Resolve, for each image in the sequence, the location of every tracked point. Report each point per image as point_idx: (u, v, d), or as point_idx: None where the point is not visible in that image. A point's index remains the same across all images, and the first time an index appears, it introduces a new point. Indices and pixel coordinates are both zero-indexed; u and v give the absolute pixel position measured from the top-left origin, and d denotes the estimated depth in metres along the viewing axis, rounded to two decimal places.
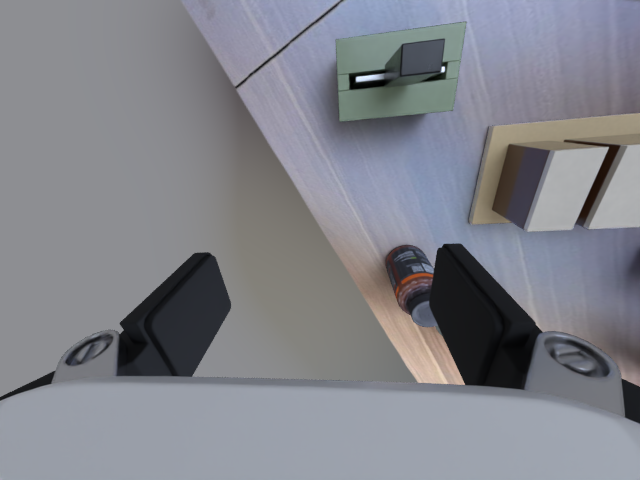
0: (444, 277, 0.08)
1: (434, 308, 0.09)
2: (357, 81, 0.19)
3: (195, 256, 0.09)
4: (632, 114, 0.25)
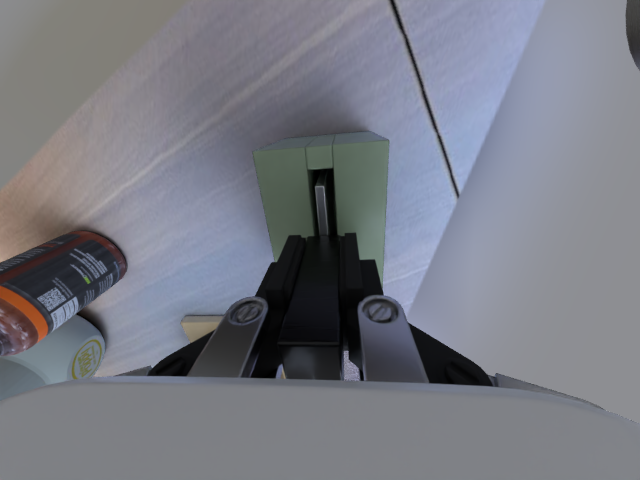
0: None
1: None
2: (316, 189, 0.10)
3: (292, 237, 0.10)
4: None
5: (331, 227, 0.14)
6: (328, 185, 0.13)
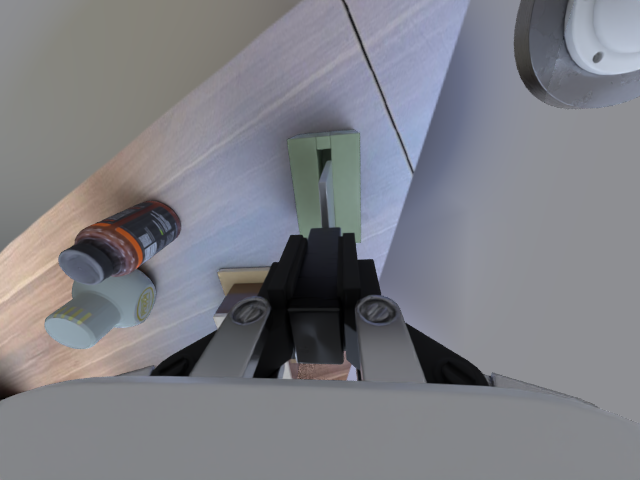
0: None
1: None
2: (319, 185, 0.11)
3: (293, 237, 0.10)
4: None
5: (332, 222, 0.15)
6: None
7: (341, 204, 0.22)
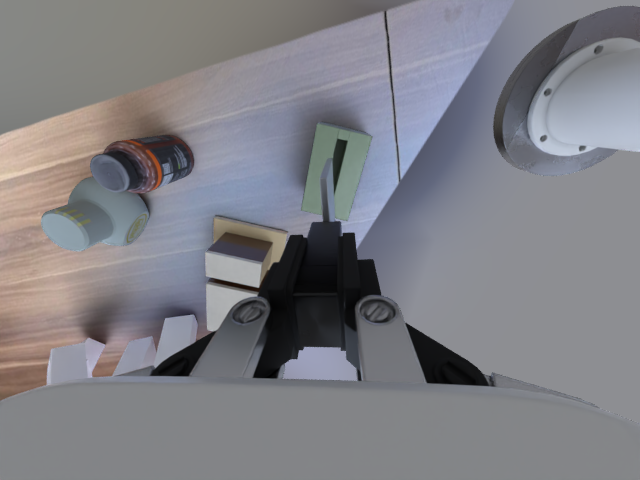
0: None
1: None
2: (320, 180, 0.12)
3: (293, 237, 0.10)
4: None
5: (332, 218, 0.15)
6: (330, 179, 0.14)
7: (342, 186, 0.27)
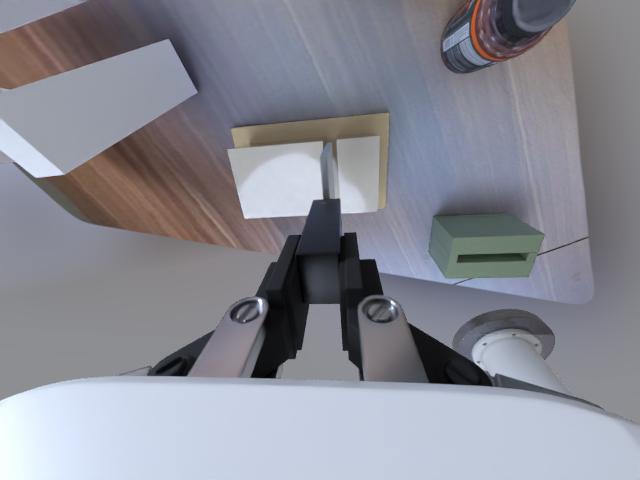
0: None
1: None
2: (320, 159, 0.12)
3: (292, 237, 0.10)
4: None
5: (332, 198, 0.16)
6: (330, 161, 0.15)
7: (481, 266, 0.30)
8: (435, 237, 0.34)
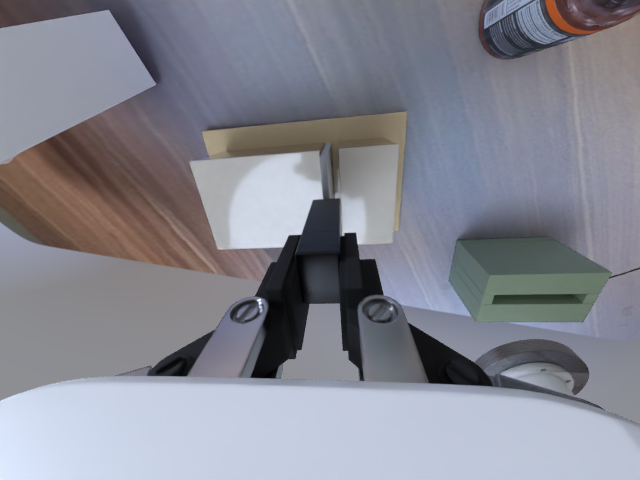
0: None
1: None
2: (320, 159, 0.12)
3: (292, 237, 0.10)
4: None
5: (332, 198, 0.16)
6: None
7: (523, 309, 0.23)
8: (460, 266, 0.27)
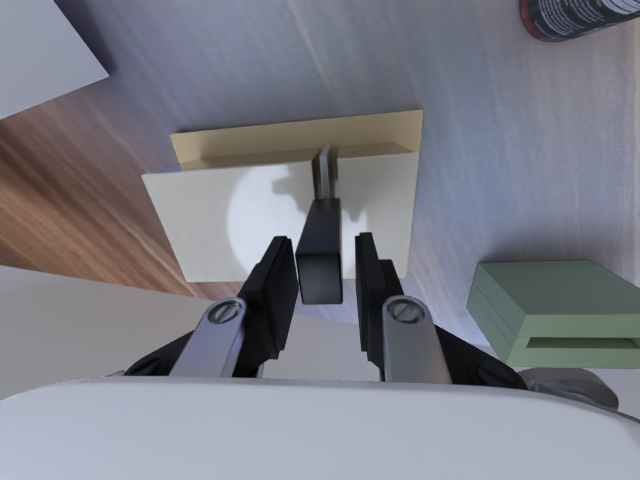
0: (356, 260, 0.10)
1: (356, 289, 0.11)
2: (320, 158, 0.12)
3: (277, 238, 0.10)
4: None
5: None
6: None
7: (565, 354, 0.19)
8: (482, 295, 0.23)
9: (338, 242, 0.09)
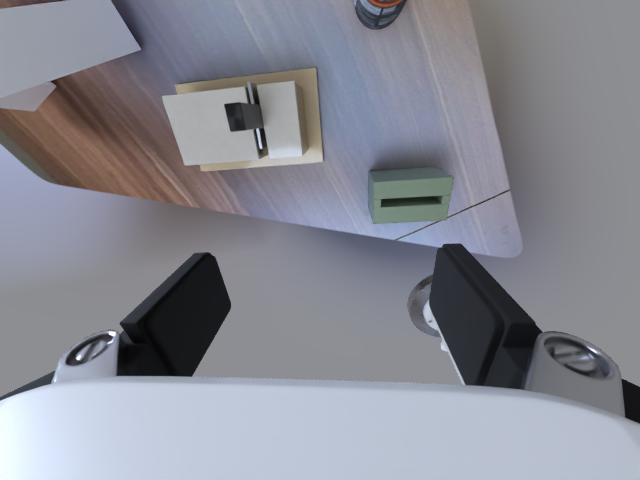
0: (444, 277, 0.08)
1: (434, 308, 0.09)
2: (247, 83, 0.26)
3: (195, 256, 0.09)
4: (238, 168, 0.38)
5: None
6: None
7: (403, 210, 0.32)
8: (369, 190, 0.37)
9: (241, 102, 0.22)
